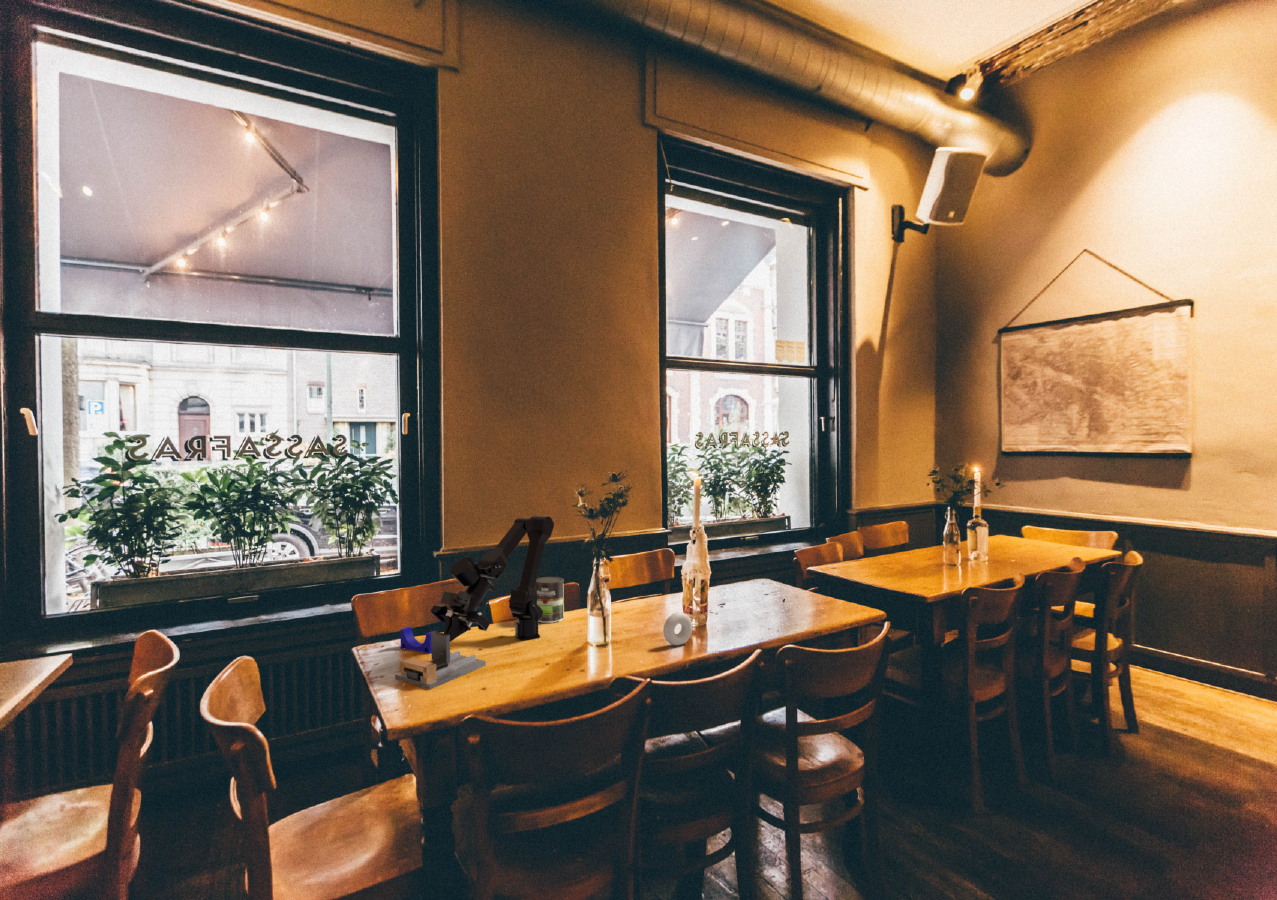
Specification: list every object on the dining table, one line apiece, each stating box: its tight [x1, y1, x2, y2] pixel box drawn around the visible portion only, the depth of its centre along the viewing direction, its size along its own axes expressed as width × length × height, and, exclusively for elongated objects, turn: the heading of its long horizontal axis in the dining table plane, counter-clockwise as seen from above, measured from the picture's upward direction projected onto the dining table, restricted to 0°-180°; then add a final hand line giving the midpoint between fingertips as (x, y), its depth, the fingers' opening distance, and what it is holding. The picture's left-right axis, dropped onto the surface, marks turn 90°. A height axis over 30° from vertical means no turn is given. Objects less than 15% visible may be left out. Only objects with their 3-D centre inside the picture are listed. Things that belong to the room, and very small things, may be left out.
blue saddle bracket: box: [400, 626, 438, 655], centre depth 182 cm, size 12×4×6 cm, turn 64°
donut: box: [662, 611, 693, 646], centre depth 181 cm, size 10×4×10 cm, turn 120°
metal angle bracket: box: [406, 631, 451, 680], centre depth 159 cm, size 10×6×9 cm, turn 148°
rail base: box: [394, 650, 487, 690], centre depth 163 cm, size 19×14×5 cm
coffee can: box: [535, 576, 565, 624], centre depth 211 cm, size 10×10×14 cm
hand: (443, 644), depth 163 cm, fingers closed, pressing on metal angle bracket
